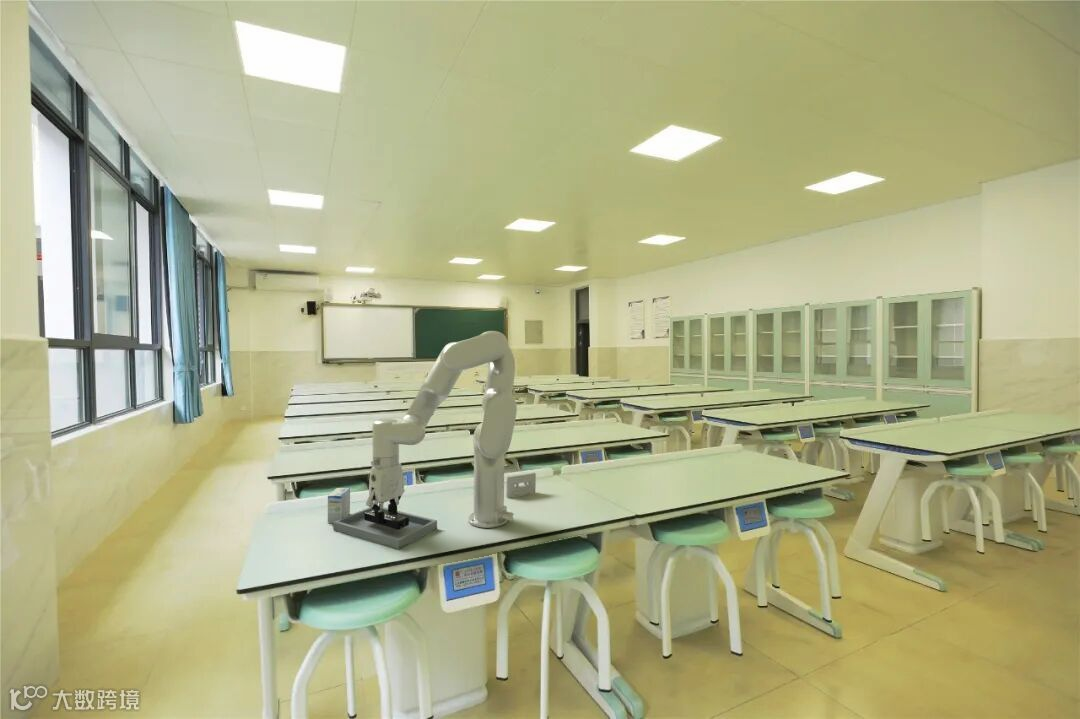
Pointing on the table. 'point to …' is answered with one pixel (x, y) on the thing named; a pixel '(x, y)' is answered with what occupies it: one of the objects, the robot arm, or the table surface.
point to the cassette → (515, 489)
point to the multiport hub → (389, 519)
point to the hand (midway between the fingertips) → (386, 520)
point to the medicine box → (338, 504)
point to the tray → (385, 529)
